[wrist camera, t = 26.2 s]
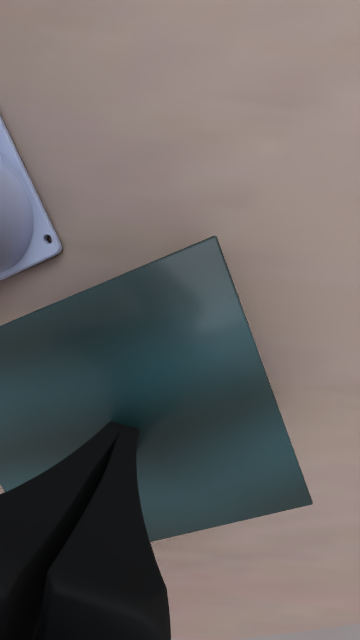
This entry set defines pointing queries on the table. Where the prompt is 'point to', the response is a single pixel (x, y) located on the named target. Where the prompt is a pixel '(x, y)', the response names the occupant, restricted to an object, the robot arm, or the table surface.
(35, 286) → the table surface
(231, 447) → the lid
